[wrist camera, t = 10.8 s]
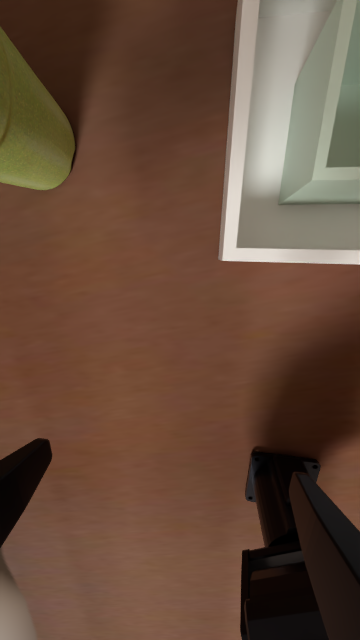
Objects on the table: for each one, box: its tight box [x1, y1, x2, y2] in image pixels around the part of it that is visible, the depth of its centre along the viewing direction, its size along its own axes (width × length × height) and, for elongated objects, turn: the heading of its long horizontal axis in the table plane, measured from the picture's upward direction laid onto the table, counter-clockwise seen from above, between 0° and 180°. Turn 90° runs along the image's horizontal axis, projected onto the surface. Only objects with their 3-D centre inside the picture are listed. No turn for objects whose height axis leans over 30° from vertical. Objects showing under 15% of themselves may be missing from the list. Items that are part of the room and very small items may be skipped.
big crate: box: [218, 0, 360, 264], centre depth 12 cm, size 14×14×5 cm
